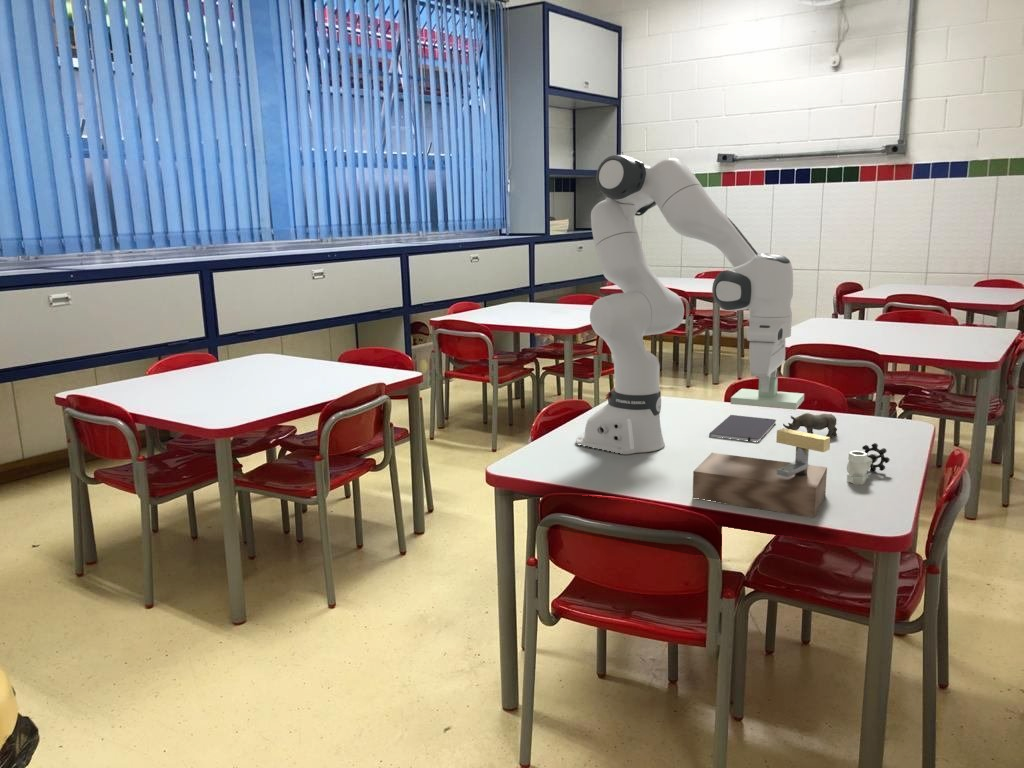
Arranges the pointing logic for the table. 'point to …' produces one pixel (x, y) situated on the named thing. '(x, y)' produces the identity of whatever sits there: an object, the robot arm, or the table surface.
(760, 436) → the notebook
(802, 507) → the walnut box
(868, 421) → the table surface
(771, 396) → the cover
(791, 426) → the rhino figurine
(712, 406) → the table surface
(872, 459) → the valve
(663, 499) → the table surface
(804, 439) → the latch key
